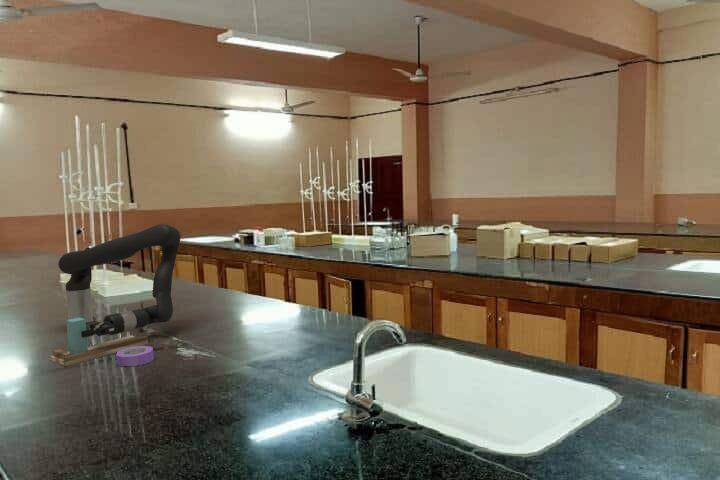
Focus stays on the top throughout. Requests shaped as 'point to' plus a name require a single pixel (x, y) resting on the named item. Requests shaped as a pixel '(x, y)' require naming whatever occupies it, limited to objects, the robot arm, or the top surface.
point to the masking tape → (135, 356)
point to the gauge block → (76, 335)
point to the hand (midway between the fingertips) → (75, 332)
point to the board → (97, 350)
